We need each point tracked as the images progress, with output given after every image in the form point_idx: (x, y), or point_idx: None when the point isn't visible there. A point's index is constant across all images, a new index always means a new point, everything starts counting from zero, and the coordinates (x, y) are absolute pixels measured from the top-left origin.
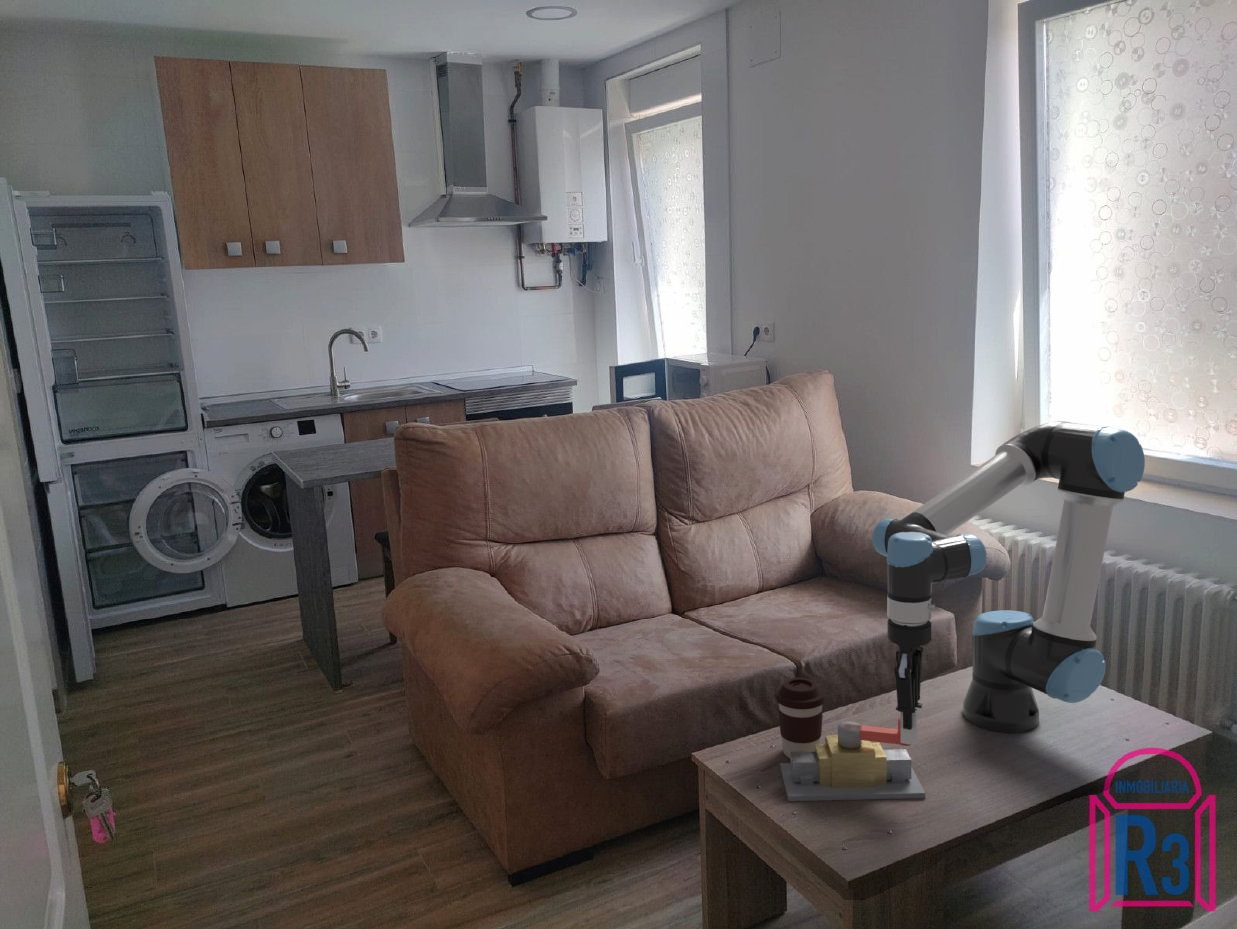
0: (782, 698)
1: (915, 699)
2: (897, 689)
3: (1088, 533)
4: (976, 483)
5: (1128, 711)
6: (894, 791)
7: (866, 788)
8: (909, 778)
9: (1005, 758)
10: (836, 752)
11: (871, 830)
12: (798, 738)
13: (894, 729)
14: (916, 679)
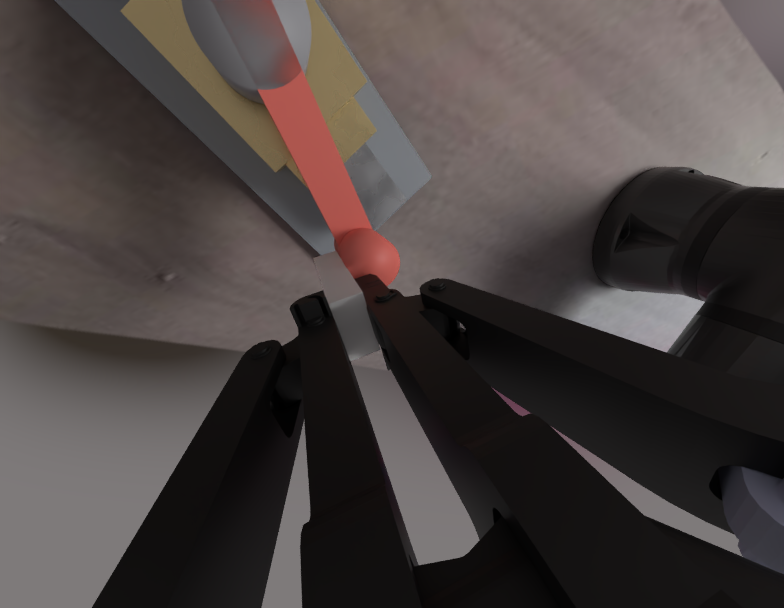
0: None
1: (391, 369)
2: (149, 527)
3: None
4: None
5: (670, 341)
6: (294, 218)
7: (255, 156)
8: None
9: (520, 296)
10: (147, 28)
11: (130, 246)
12: None
13: (359, 212)
14: (445, 469)
